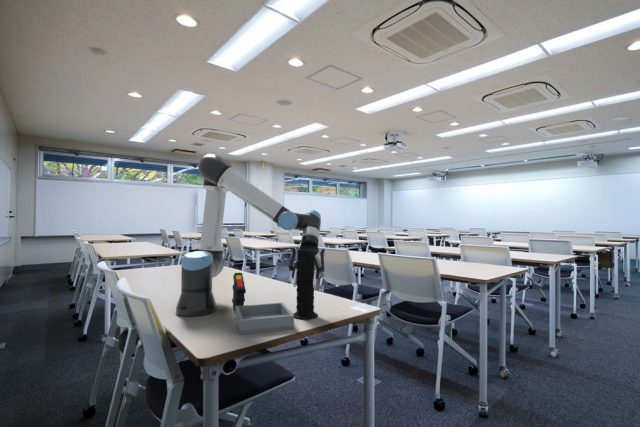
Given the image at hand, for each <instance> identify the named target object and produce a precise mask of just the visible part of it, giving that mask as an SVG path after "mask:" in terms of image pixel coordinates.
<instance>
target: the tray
mask: <svg viewBox="0 0 640 427" xmlns="http://www.w3.org/2000/svg"><path fill="white" fill-rule="evenodd" d="M234 312H235V313H234V317H235V322H236V326H237V330H238V332H239V335H249V334H257V333H258V334H259V333H269V332H277V331H287V330H294V329H295V318H294V315H293V314H294V313H292V311H291V310H290V309H289V308H288V306H286V305H285V304H284V302H272V303H271V302H270V303H258V304H246V305H245V304H244V306H235V311H234Z"/></svg>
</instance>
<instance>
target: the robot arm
mask: <svg viewBox="0 0 640 427" xmlns="http://www.w3.org/2000/svg"><path fill="white" fill-rule="evenodd" d="M197 168H198V173H199V175H200V176H201V177H202V178H203V183H202V184H203V185H202V187H203V189H205V196H204V197H205V200H204V205H203V206H204V209H203V217H202V224H201V235H200V243H199V245H196V247H195V251H191V252H187V253H185V254H184V255H183V256H181V264H180V266H181V277H180V278H181V280H180V281H181V283H180V284H181V285H180V290H181V291H180V296H179V298H178V300H177V303H176V306H175V314H176V315H178V316H180V315H181V316H183V317H200V316H204V315H205V316H207V315H209V314H212V313H214V312H216V311H217V303H216V300H215V296H214V293H213V278H215V277H218V275H219V274H221V272H222V271H223V269H224V266H225V259H224V257H223V256H224V248H223V247H222V246H221V242H222V233H223V226H224V225H223V224H224V214H225V208H226V207H225V206H226V198H227V194H228V192H230V193H231V194H233V195H235V196H236V197H237V198H239V199H240V200H242V201H243V202H245V203H246V204H248V205H249V206H250V207H252V208H253V209H255V210H256V211H258V212H260V214H262V215H264V216H265V217H267V218H268V219H270V220H271V221H272V222H273V223H275V224H276V226H277V227H278V228H281V229H283V230H284V231H292V230H295V231H302V233H301V240H300V245H299V248H297V249H296V248H294V247H293V248H292V249H291V250H292V254H291V256H290V260H289V263H288V266H287V267H288V271H289V272H291V279H293V281H292V285H293V288H297V271H298V270H297V269H298V268H297V263H298V262H297V260H296V258H297V254H298V252H297V250H299V249H303V248H309V249H312V250H315V252H314V255H315V258H314V261H315V262H314V264H315V266H314V269H315V270H314V279H313V288H314V289H316V286H317V280H320V274H321V273H324V272H325V258H324V257H325V255H326V250H325V248H322V249H319V240H320V233H321V232H320V231H321V226H322V225H321V224H322V221H321V220H322V216H321V213H320V212H319V211H317V210H313V209H311V210H307V211H306V212H305V213H298V212H293V211H291V210H290V209H288V208H287V207H286V206H284V205H282V204H281V203H280V202H278V201H277V200H275V199H274V198H272V197H271V196H270V195H268V194H267V193H265V192H264V191H262V190H261V189H259V188H258V187H257V186H256V185H254V184H252V183H251V182H249V181H248V180H246V179H245V178H243V176H240V175H239V174H238V173H236V172H235V170H234V167H233V166H232V164H231V163H230V162H229V161H228V160H226V159H224V158H223V157H222V156H220V155H218V154H213V153H208V154H205V155H204V156H203V157H202V158H200V161H199V162H198V167H197ZM318 254H319V256H320V264H319V263H318V260H317V257H316V255H318ZM319 265H320V266H319ZM181 316H180V317H181Z"/></svg>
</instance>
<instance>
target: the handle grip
mask: <svg viewBox="0 0 640 427" xmlns="http://www.w3.org/2000/svg"><path fill="white" fill-rule="evenodd" d="M298 249H299V248H298ZM297 252H298V254H297V255H296V258H297V260H296V261H297V262H298V263H297V268H298V269H297V282H296V312H294V313H292V314H293V315H294V320H295V319H297V320H301V321H304V320H305V321H309V320H313V319H317V318H318V317H319V314H318V313H317V312H315V310H314V309H315V305H314V304H315V302H314V301H315V296H314V295H315V288H313V279H314V270H316V268H315V264H314V262H315V261H314V258H315V257H316V255H314V252H315V250H312V249H309V248H303V249H299V250H297Z"/></svg>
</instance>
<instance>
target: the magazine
mask: <svg viewBox="0 0 640 427" xmlns="http://www.w3.org/2000/svg"><path fill="white" fill-rule="evenodd" d="M232 277H233V278H232V279H233V285H232V291H233V292H232V293H233V294H232V298H231V302H232V308H233V311H234V312H235V306H244V305H245V301H246V299H245V294H246V292H247V291H246V290H247V289H246V286H245V280H244V276H243V272H234V274H233V275H232Z"/></svg>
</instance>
